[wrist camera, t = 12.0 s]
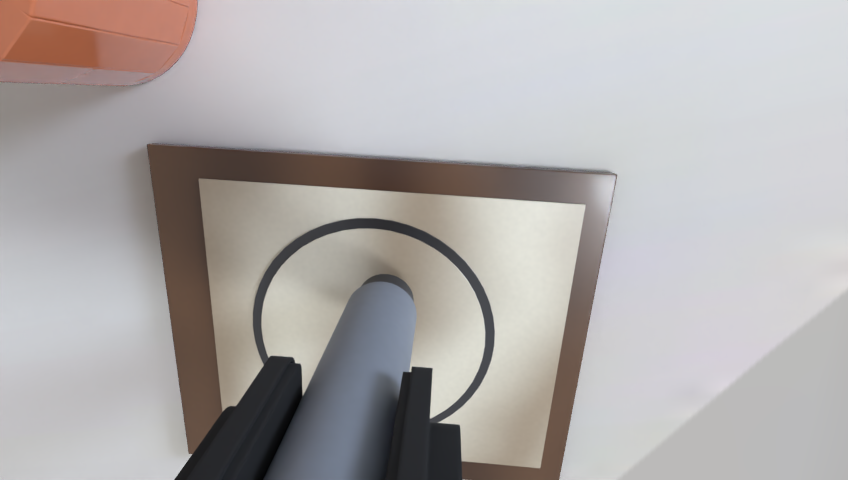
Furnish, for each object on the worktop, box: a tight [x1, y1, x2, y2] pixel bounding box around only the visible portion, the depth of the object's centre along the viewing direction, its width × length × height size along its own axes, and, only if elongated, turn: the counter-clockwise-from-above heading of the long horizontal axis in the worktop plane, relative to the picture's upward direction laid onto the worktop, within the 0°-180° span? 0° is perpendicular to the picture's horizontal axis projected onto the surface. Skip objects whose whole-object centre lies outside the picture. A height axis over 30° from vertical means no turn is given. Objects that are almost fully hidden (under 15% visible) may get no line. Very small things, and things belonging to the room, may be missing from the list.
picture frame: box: [147, 143, 617, 480], centre depth 19 cm, size 18×15×1 cm
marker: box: [263, 274, 417, 480], centre depth 12 cm, size 3×3×12 cm
